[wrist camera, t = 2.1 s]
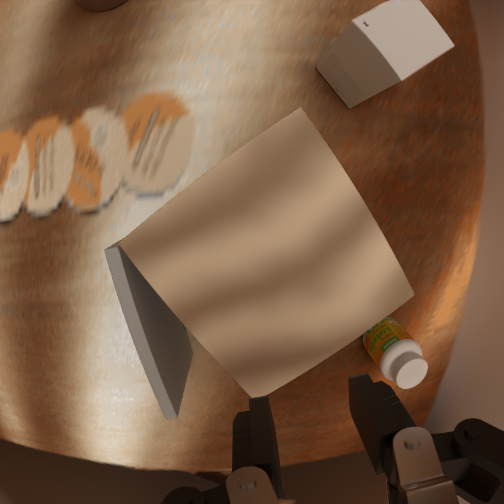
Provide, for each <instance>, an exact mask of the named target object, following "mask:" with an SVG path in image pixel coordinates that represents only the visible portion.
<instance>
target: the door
mask: <svg viewBox="0 0 504 504" xmlns="http://www.w3.org/2000/svg"><path fill="white" fill-rule="evenodd" d="M123 239H124V238H123ZM123 239H121V240H123ZM121 240H120V241H121ZM120 241H118V242H116V243H115V244H113V245H111V246H110V247H108V248H106V249H105V250H104V251H105V254H106V258H107V262H108V265H109V269H110V272H111V275H112V279H113V282H114V285H115V289H116V292H117V295H118V298H119V301H120V304H121V307H122V310H123V313H124V316H125V319H126V322H127V325H128V328H129V331H130V333H131V336H132V339H133V342H134V344H135V347H136V350H137V352H138V355H139V358H140V360H141V363H142V365H143V368H144V370H145V373H146V375H147V377H148V380H149V382H150V385H151V387H152V389H153V392H154V394H155V396H156V399H157V401H158V403H159V405H160V408H161V410H162V412H163V414H164V416H165V418H166V419H169V418H178V414H179V409H180V405H181V401H182V396H183V392H184V388H185V383H186V379H187V375H188V371H189V366H190V362H191V358H192V354H193V353H192V350H191V347H190V344H189V341H188V337H187V334H186V331H185V328H184V324H183V323H182V322H181V321H180V320H179V319H178V317H177V316H176V315H175V314H174V313H173V312H172V310H171V309H170V308H169V307H168V306H167V304H166V303H165V302H164V301H163V300H162V298H161V297H160V296H159V295H158V294H157V292H156V291H155V290H154V289H153V287H152V286H151V285H150V284H149V283H148V281H147V280H146V279H145V278H144V276H143V275H142V274H141V273H140V271H139V270H138V269H137V267H136V266H135V265H134V264H133V262H132V261H131V260H130V258H129V257H128V256H127V255H126V253H125V252H124V251H123V249H122V248H121V247H120V245H119V244H118V243H119V242H120Z"/></svg>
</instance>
